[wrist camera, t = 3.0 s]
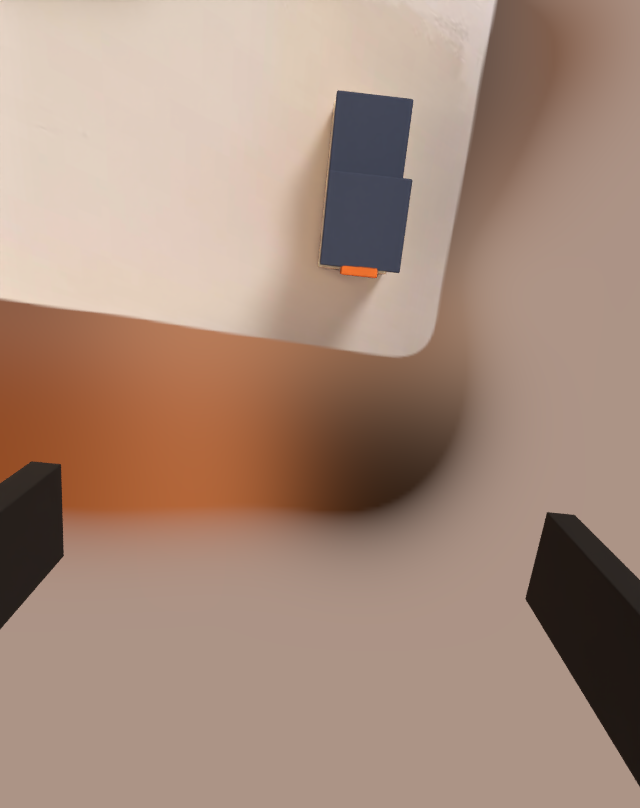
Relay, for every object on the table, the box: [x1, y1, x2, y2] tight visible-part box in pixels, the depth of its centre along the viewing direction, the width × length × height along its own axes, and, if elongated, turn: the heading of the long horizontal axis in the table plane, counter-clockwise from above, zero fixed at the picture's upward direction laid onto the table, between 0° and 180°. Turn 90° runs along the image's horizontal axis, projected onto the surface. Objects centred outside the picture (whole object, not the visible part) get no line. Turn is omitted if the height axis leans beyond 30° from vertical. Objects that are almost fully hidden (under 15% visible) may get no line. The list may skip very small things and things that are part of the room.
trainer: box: [318, 91, 413, 278], centre depth 31 cm, size 10×5×8 cm, turn 174°
